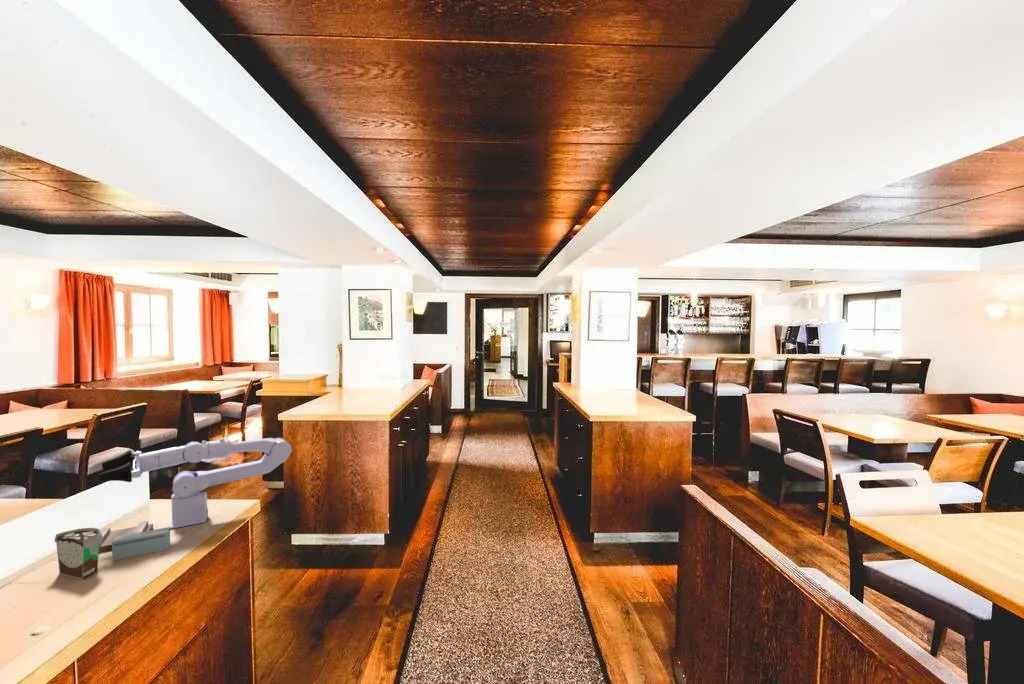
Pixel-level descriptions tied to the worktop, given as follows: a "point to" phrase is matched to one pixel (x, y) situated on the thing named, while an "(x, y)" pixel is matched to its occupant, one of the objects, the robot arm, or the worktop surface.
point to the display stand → (120, 534)
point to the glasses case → (140, 543)
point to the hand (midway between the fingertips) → (101, 471)
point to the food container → (78, 552)
